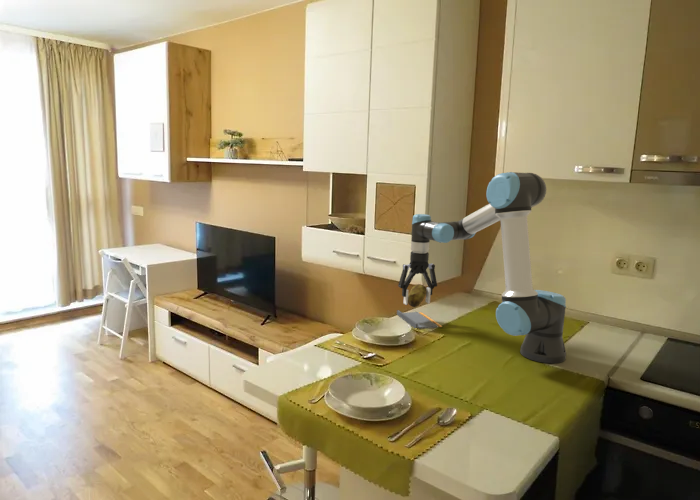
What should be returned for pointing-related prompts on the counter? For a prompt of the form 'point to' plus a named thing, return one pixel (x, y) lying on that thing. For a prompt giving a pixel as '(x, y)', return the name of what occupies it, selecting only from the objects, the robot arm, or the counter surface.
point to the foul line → (430, 319)
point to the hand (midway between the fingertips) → (416, 303)
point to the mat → (416, 320)
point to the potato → (416, 295)
